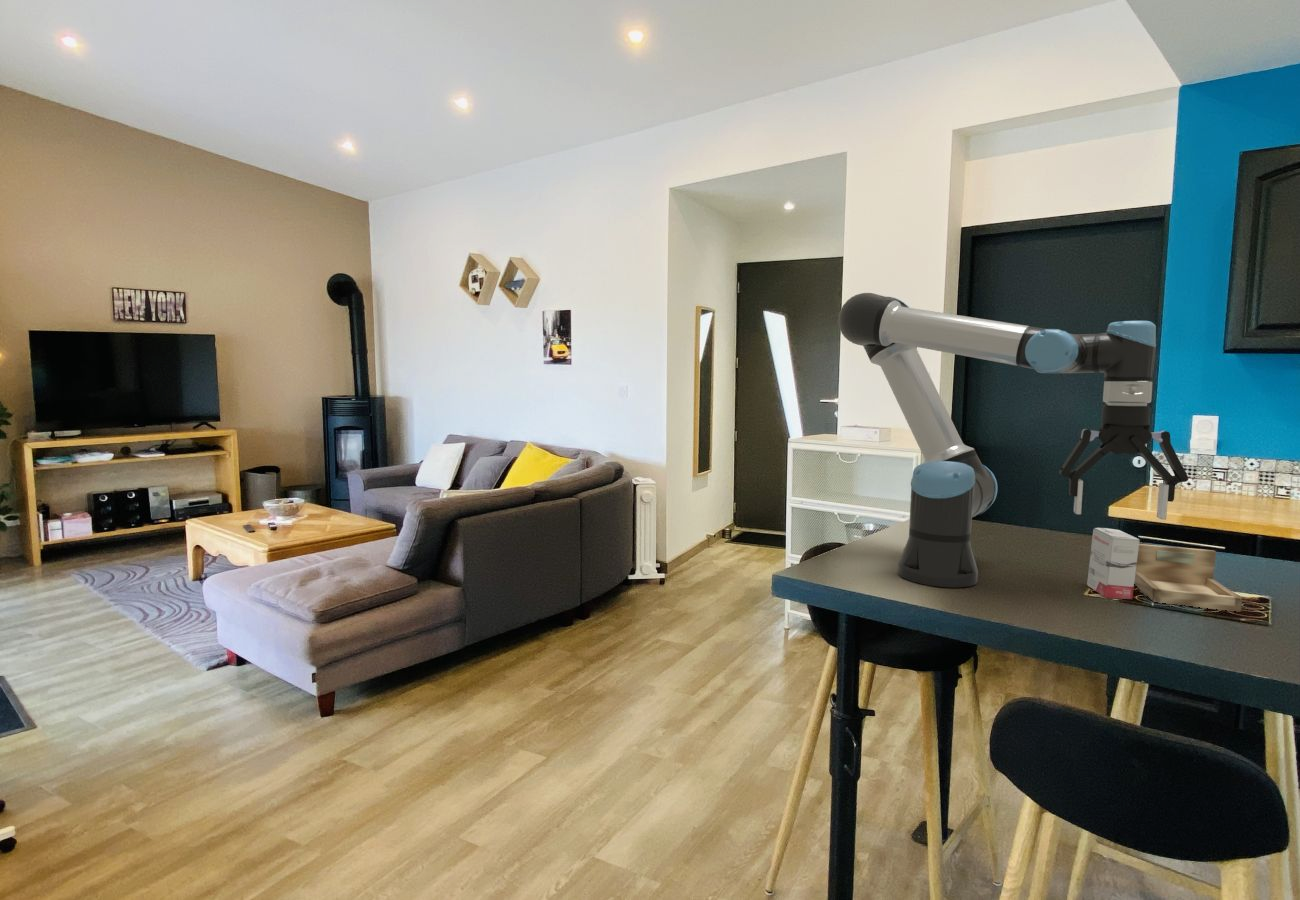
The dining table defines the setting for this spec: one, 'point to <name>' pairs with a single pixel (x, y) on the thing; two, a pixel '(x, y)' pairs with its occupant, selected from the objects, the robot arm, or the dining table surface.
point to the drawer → (1182, 578)
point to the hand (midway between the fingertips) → (1118, 515)
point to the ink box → (1113, 563)
